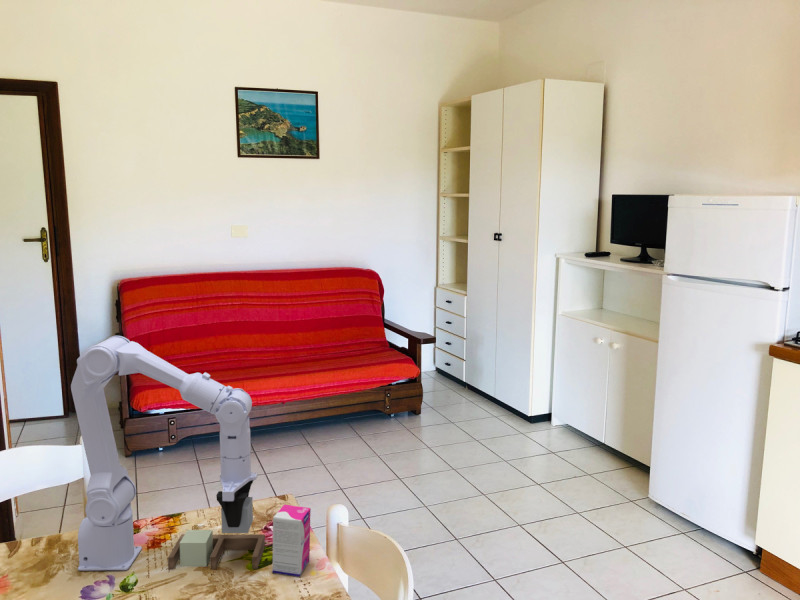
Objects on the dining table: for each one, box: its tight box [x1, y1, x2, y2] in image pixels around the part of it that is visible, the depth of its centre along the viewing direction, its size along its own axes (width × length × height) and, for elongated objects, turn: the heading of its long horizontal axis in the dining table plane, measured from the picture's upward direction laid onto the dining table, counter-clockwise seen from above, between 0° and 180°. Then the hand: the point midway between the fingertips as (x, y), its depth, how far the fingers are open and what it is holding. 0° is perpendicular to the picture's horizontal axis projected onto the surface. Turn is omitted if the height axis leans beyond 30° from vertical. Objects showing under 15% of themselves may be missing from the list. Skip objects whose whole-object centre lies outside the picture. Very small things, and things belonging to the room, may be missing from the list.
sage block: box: [179, 529, 214, 568], centre depth 127 cm, size 5×5×5 cm
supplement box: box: [271, 504, 312, 578], centre depth 124 cm, size 6×6×12 cm
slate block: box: [220, 496, 254, 534], centre depth 126 cm, size 5×5×5 cm
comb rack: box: [167, 533, 266, 570], centre depth 128 cm, size 17×8×2 cm, turn 92°
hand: (237, 519), depth 126 cm, fingers closed on slate block, 5 cm apart
